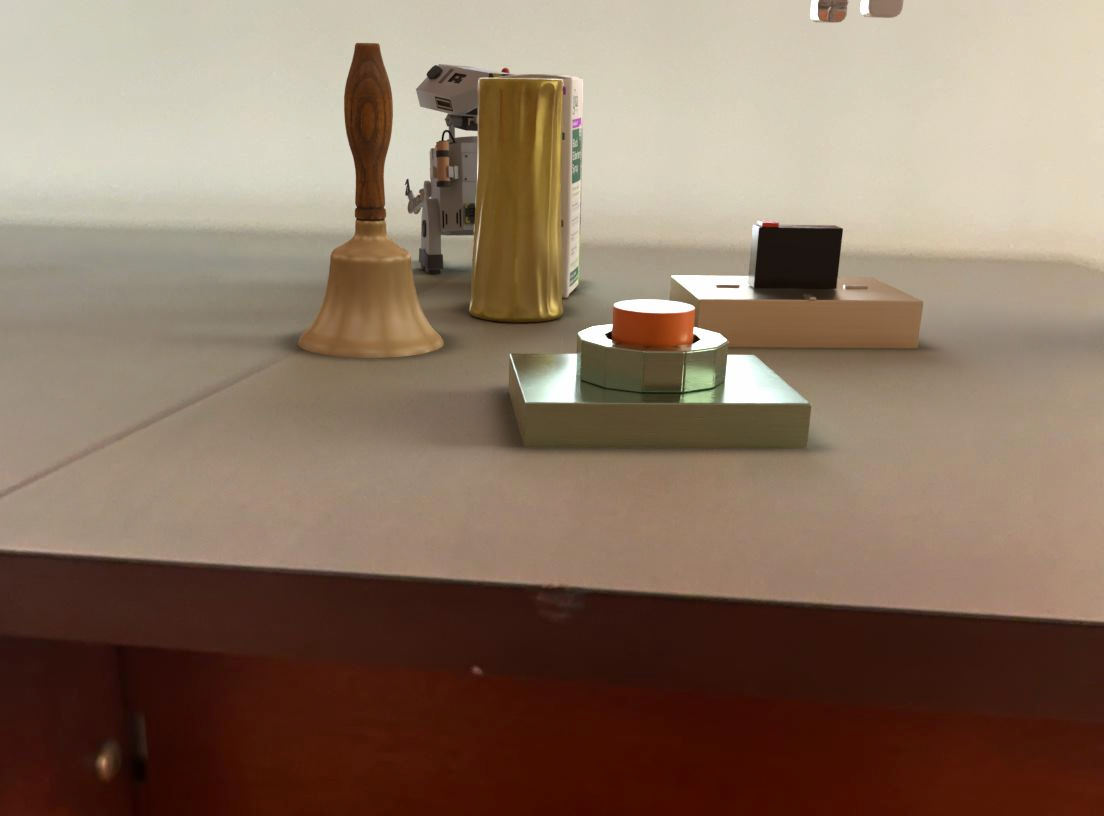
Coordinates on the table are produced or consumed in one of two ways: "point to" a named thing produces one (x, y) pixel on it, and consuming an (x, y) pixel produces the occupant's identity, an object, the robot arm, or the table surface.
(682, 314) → the button
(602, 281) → the table surface
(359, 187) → the hand bell
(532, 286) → the vase
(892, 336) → the tan slotted base
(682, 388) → the button box
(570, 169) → the syrup box
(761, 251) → the black battery pack
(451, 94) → the figurine
